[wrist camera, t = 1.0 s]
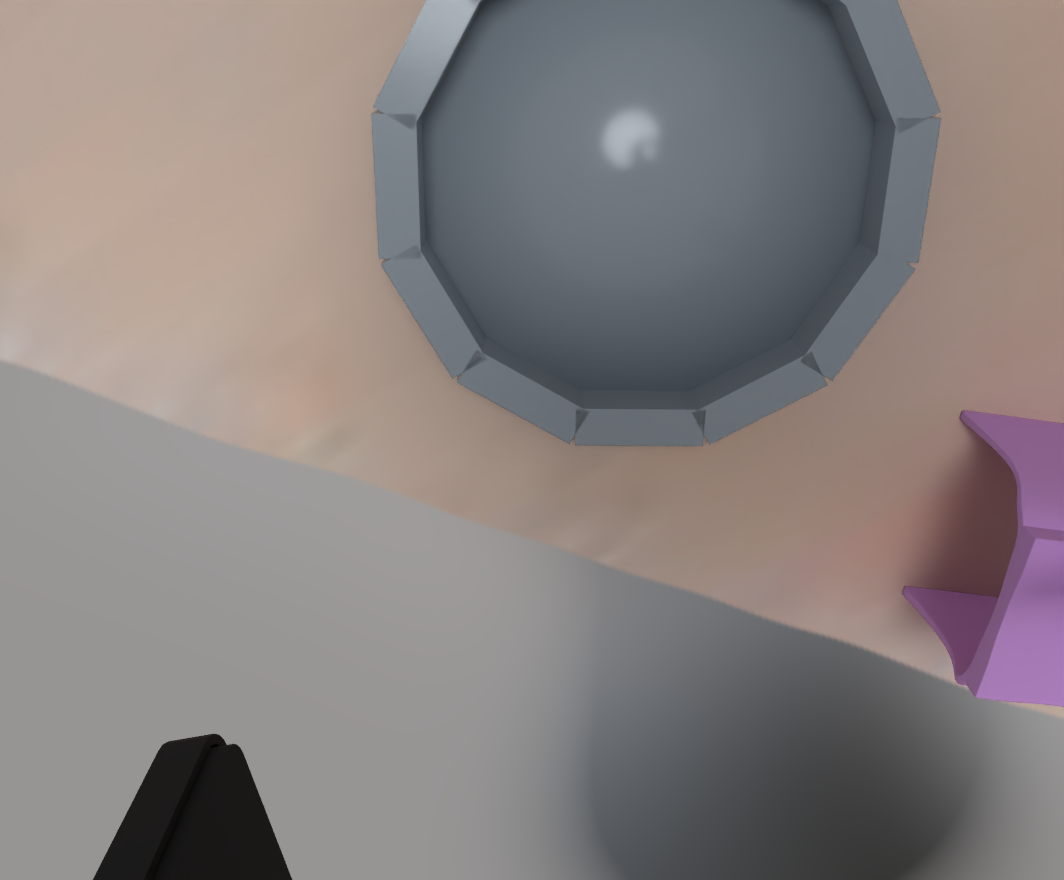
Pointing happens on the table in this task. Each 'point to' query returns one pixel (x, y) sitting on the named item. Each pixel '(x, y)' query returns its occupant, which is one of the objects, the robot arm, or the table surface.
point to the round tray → (651, 202)
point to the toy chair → (1013, 578)
